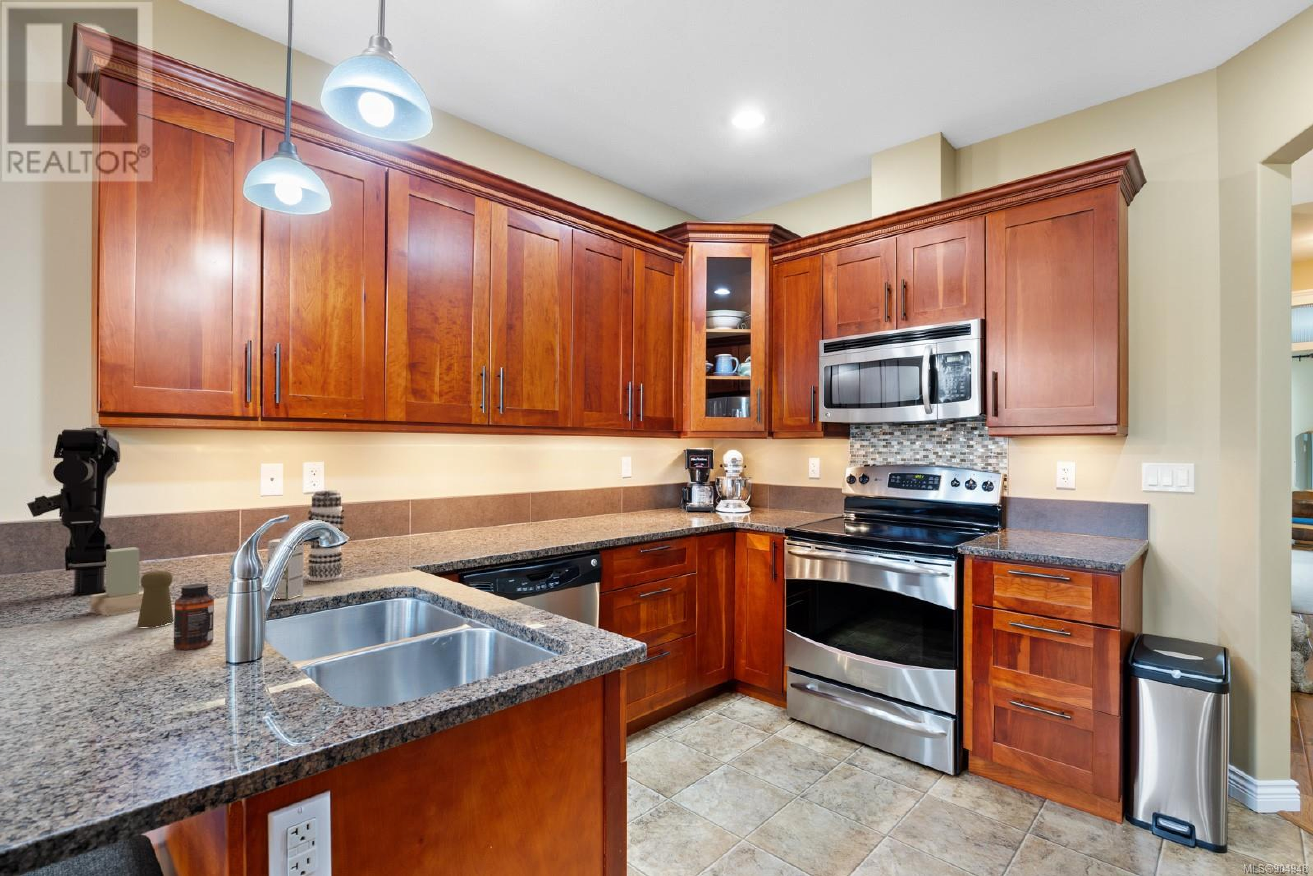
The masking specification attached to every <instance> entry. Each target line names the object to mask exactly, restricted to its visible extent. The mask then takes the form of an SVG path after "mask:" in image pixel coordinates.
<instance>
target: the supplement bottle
mask: <svg viewBox="0 0 1313 876" xmlns="http://www.w3.org/2000/svg"><path fill="white" fill-rule="evenodd" d="M180 594H181V595H180V596H179V597H178V598H177V599H176V600H175V602H174V606H173V607H174V612H173V619H174V623H173V647H174V649H175V650H177V651H191V650H197V649H201V648H205V647H208V646H210V645H211V644H212V643H213V642H214V615H215V598H214V596H213V595H211V594H209V584H208V583H192V584H186V585H183V586H181V591H180Z"/></svg>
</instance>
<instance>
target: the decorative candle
mask: <svg viewBox="0 0 1313 876" xmlns="http://www.w3.org/2000/svg"><path fill="white" fill-rule="evenodd" d="M310 497H311V507H310V510H308V512H307V513H308V517H307V520H308V521H311V520H313V519H316V520H322V521H325V522H330V524H332V525H333V526H334V527H337V528H338V529H339V530H340V531H341V532H343V531H344V528H342V527H341V526H342V525H343V524H345V522H344V521H343V519H345V516H344V515H342V513H343V512H345V510H344V509H343V506H342V497H343V495H341V493H340V491H338V490H318V491H315V493H314V494H313V495H311V496H310ZM342 555H343V552H342V546H341V545H340V546H339V547H337V548H334V549H322V548H321V546H320V545H319V541H318V540H313V541H311V540H310V548H309V554H308V558H309V559H308V563H310V564H309V565H308V567H307V569H308V570H309V571H308V572H307V573H308V580H309V581H314V582H315V581H316V582H323V581H332V580H333V581H334V580H337V578H338V579H341V578H342V577H343V576H342V574H341V573H342V572H343V571H342V569H341V568H342V567H343V564H342V562H341V561H342V560H343V558H342V557H341V556H342Z"/></svg>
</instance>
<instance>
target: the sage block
mask: <svg viewBox="0 0 1313 876" xmlns="http://www.w3.org/2000/svg"><path fill="white" fill-rule="evenodd" d="M105 563H106V567H105V587H106V592H105V593H106V594H107V595H108V596H109V597H115V596H122V595H129V594H136V593H139V590H140V548H138V547H135V546H134V547H132V546H131V547H123V548H114V549H110V550H106V561H105Z"/></svg>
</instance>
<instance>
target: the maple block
mask: <svg viewBox="0 0 1313 876" xmlns="http://www.w3.org/2000/svg"><path fill="white" fill-rule="evenodd" d="M143 593H144V590H143V589H139V593H136V594H129V595H122V596H115V597H109V596H108V595H107V594H106V592H102V593H98V594H92V595H90V613H93V614H97V615H100V614H102V615H101V616H104V615H107V616H106V617H110V616H109V615H113V614H118V615H121V614H120V613H123V614H125V613H124V612H129V611H133V610H138V609H141V603H142V598H143ZM129 613H130V612H129ZM113 616H114V615H113Z"/></svg>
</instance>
